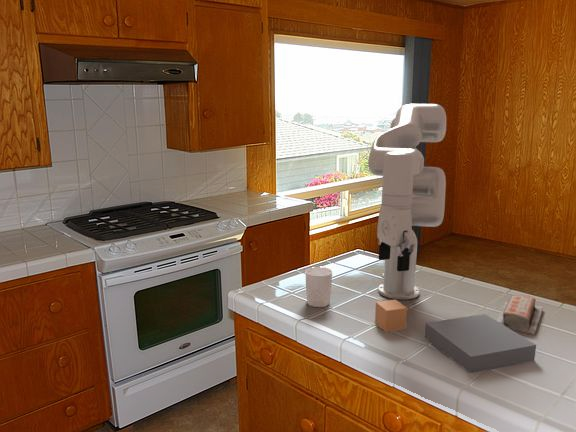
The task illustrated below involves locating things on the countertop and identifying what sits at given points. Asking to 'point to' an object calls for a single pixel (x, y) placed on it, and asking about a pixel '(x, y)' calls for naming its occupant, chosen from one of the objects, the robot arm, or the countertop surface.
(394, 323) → the cube
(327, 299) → the white cup
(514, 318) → the packaged product
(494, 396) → the countertop surface
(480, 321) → the plinth
